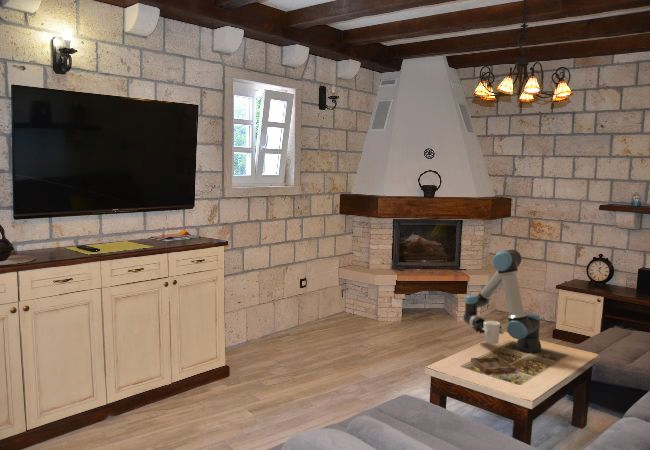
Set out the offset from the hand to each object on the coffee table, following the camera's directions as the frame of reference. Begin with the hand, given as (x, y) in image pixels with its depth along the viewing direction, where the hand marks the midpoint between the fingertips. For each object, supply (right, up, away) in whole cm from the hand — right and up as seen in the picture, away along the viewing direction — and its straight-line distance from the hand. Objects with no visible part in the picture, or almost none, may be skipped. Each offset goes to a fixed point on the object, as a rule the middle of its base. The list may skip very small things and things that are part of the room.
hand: (495, 332), depth 315 cm
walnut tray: (-6, -17, -12) cm, 22 cm away
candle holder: (-1, -7, +5) cm, 8 cm away
